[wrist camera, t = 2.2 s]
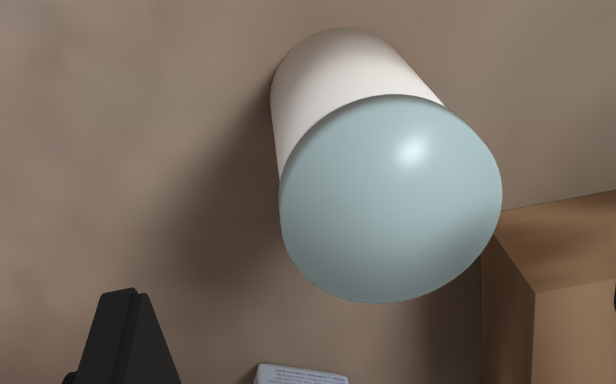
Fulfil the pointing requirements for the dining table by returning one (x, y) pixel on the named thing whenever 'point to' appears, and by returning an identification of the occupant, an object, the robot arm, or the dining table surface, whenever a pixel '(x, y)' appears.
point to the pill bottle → (375, 172)
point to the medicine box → (295, 376)
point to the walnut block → (551, 294)
